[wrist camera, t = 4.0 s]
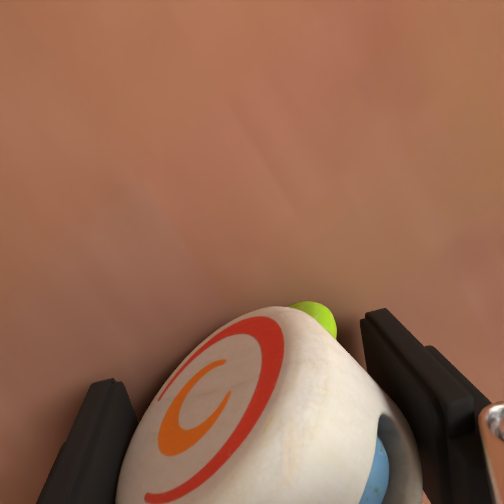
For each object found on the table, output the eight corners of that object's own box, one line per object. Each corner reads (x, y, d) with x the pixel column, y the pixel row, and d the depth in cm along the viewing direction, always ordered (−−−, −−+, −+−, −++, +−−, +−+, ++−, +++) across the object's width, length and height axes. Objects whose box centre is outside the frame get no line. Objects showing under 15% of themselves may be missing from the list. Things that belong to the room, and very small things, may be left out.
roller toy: (381, 361, 12) (524, 553, 7) (225, 486, 13) (239, 751, 7) (286, 259, 11) (369, 394, 5) (119, 404, 12) (44, 652, 6)
